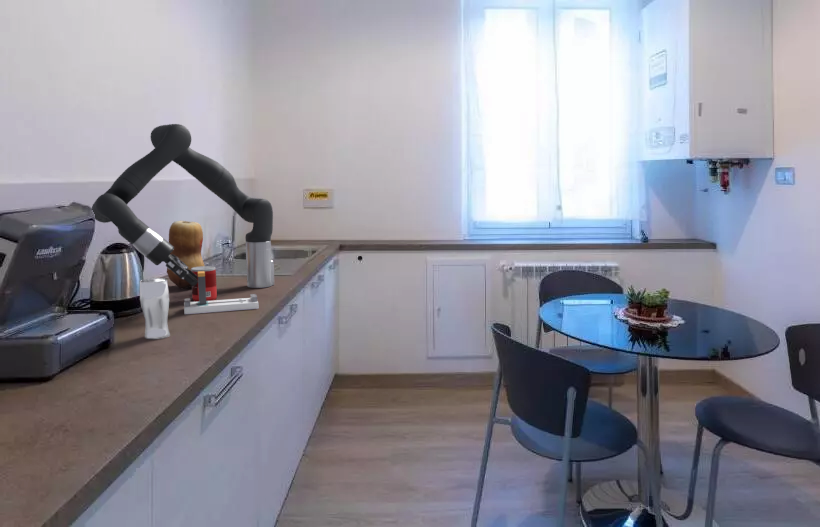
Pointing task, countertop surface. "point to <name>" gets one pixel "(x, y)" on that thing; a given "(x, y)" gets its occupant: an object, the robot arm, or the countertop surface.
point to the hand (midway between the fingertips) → (195, 281)
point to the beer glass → (155, 307)
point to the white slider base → (221, 305)
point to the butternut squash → (186, 247)
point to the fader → (202, 287)
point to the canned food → (206, 283)
